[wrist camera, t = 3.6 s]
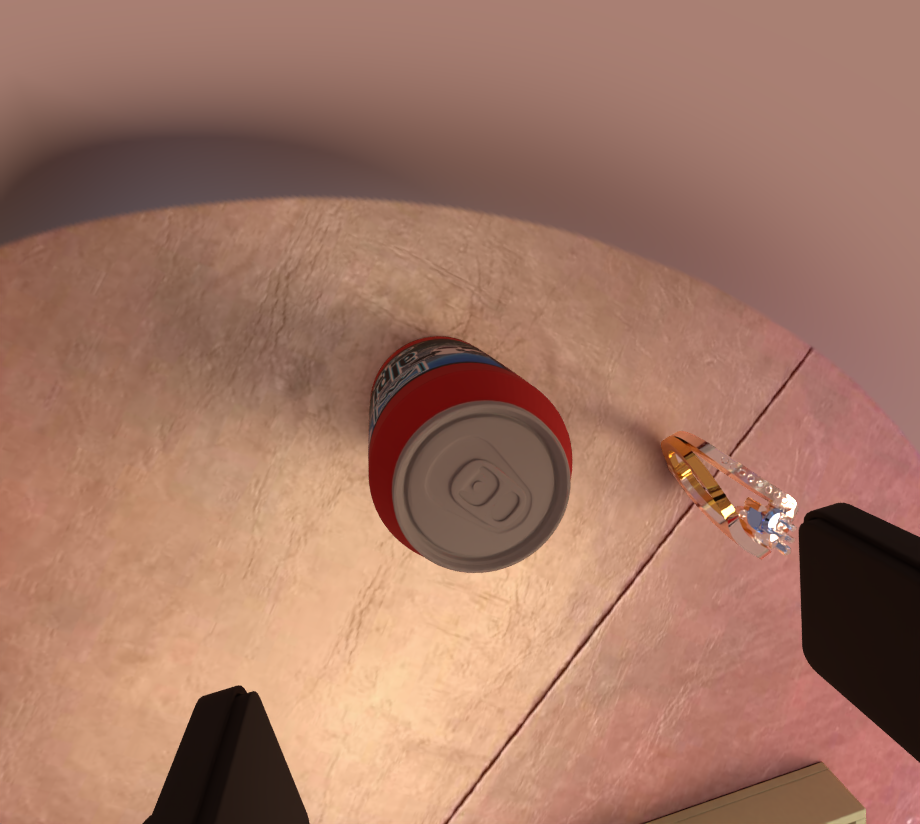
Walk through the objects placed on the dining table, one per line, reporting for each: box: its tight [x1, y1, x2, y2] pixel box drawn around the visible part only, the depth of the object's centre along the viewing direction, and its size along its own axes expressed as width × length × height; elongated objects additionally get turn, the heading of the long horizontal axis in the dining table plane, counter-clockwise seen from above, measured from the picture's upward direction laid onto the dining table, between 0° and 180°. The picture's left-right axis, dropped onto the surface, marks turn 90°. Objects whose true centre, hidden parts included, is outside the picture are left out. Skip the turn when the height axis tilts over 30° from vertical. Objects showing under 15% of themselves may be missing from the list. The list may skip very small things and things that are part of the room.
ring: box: [661, 431, 798, 560], centre depth 26 cm, size 7×3×8 cm, turn 33°
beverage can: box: [368, 336, 572, 573], centre depth 21 cm, size 7×7×12 cm
